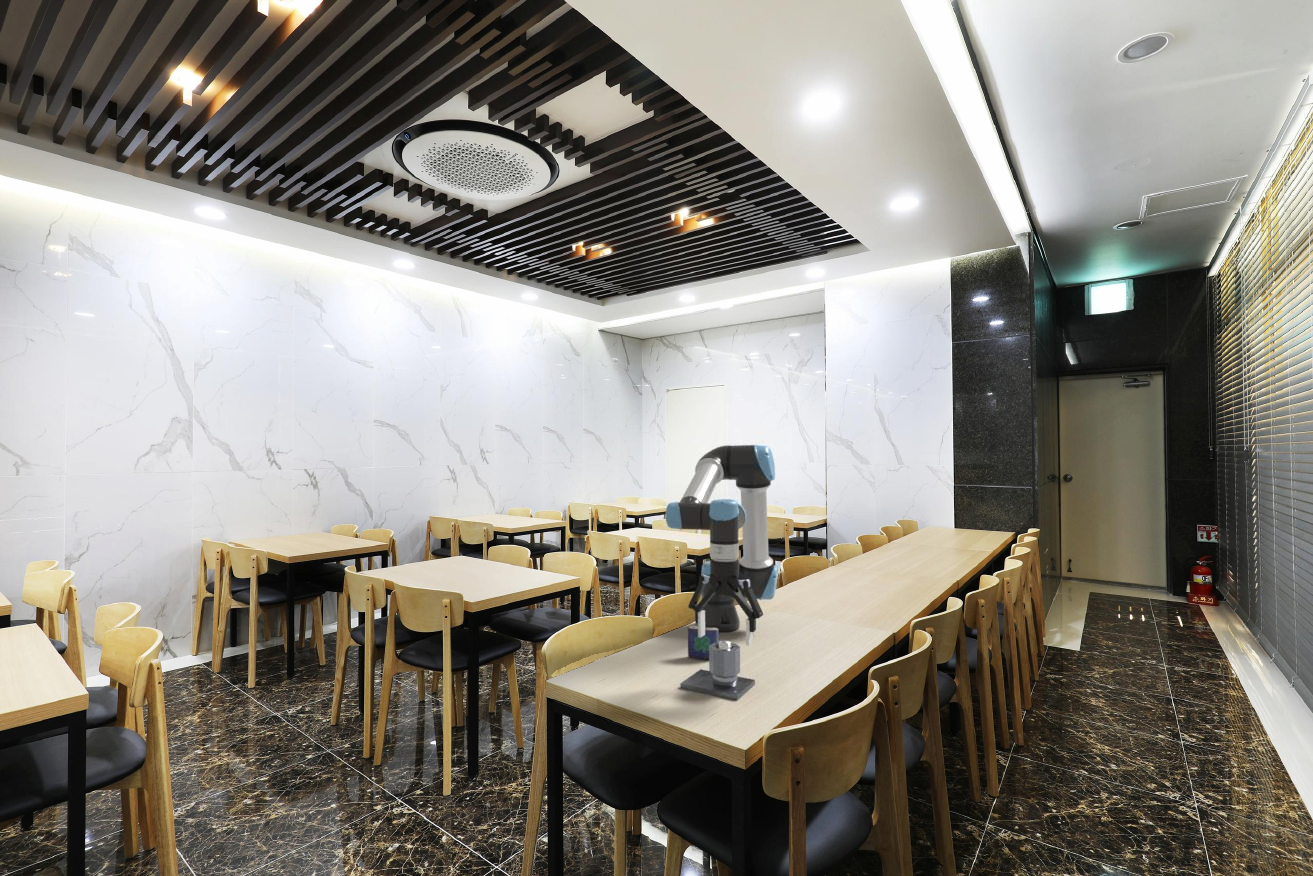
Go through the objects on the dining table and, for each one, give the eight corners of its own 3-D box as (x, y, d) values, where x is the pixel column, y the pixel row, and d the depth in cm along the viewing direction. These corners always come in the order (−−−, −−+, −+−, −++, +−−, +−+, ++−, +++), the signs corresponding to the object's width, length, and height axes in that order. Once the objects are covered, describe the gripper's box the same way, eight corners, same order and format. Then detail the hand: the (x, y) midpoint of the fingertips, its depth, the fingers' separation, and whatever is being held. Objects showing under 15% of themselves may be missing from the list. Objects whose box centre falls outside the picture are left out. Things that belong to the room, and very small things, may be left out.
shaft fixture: (700, 673, 171) (700, 630, 171) (755, 684, 163) (754, 638, 163) (680, 688, 160) (680, 641, 161) (737, 700, 152) (737, 651, 153)
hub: (717, 664, 166) (717, 640, 166) (743, 669, 162) (743, 644, 162) (705, 673, 159) (705, 648, 159) (732, 678, 156) (732, 652, 156)
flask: (719, 657, 184) (718, 621, 184) (717, 661, 181) (717, 624, 181) (688, 655, 186) (688, 620, 186) (687, 659, 183) (686, 622, 183)
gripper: (675, 557, 164) (676, 636, 164) (764, 566, 152) (765, 652, 152) (688, 552, 171) (689, 629, 171) (774, 560, 158) (775, 643, 158)
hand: (725, 640), depth 161 cm, fingers open, 13 cm apart
